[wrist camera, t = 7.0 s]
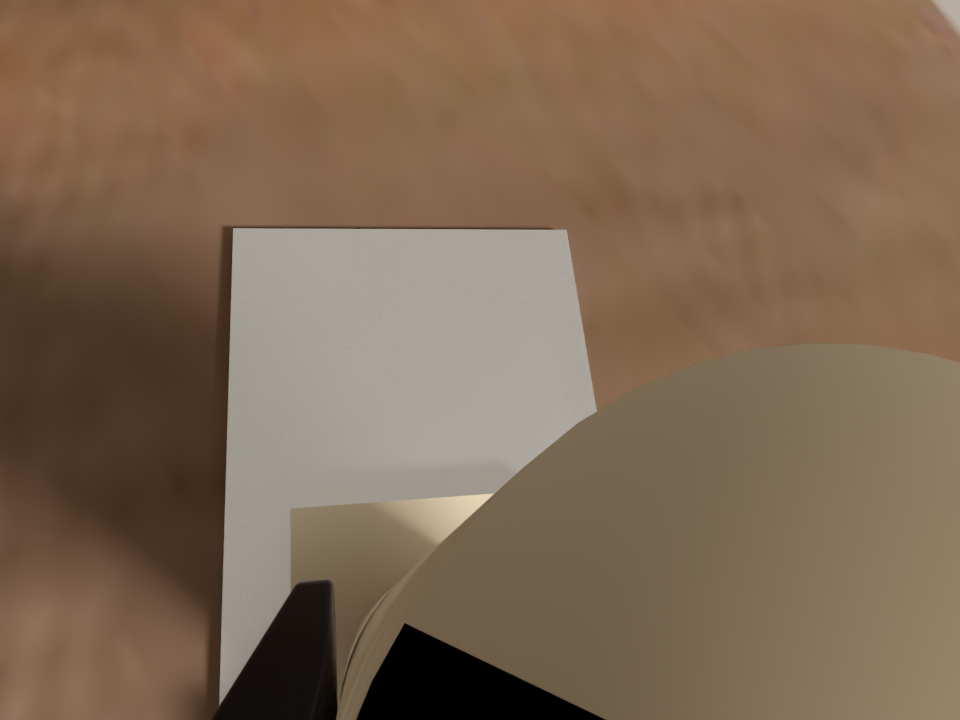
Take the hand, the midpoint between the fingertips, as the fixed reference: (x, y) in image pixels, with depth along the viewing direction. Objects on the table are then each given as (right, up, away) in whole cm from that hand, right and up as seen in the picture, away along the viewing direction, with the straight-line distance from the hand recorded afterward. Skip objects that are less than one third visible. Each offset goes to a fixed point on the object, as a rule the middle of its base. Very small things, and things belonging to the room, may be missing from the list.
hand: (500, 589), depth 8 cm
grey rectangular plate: (-2, +2, +9) cm, 9 cm away
